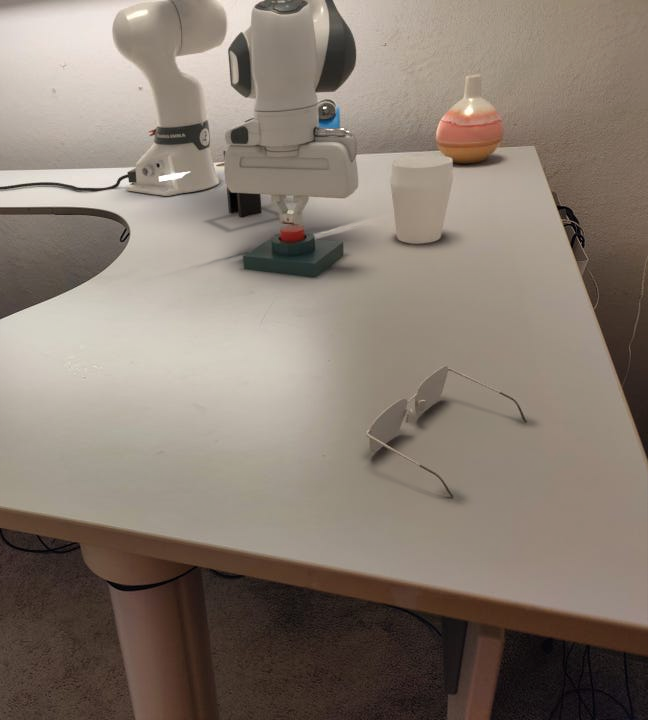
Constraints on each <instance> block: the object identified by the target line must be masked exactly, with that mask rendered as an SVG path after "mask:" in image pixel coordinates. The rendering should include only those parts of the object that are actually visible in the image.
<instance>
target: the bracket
mask: <svg viewBox="0 0 648 720" xmlns="http://www.w3.org/2000/svg"><path fill="white" fill-rule="evenodd" d="M225 152H226V150H223V159H224V158H225ZM226 198H227V207H228V213H229V214H236V213H238V218H241V219H242V218H246V217H250V216H255V215H259V214H262V199H261V194H252V193H233V192H231V191H230V190H229V189H228V187H227V186H226Z"/></svg>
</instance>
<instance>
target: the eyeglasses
mask: <svg viewBox="0 0 648 720" xmlns="http://www.w3.org/2000/svg"><path fill="white" fill-rule="evenodd" d="M448 372H452V373H454V374H456V375H459V376H461V377H462V378H465V379H467V380H470V381H472V382H474V383H477V384H479V385H481V386H483V387H484V388H487V389H489V390H492V391H494V392H496V393H498V394H500V395H502V396H503V397H506V398H508V399H510V400H511V401H512V402H514V404H515V405H516V406H517V409H518V411H519V413H520V415H521V418H522V420H523V421H522V422H523V423H528V421H527V419H526V417H525V415H524V412H523V410H522V408H521V406H520V404H519V403H518V402H517V400H516V399H514V398H513V397H512V396H510V395H508V394H505V393H504V392H502V391H499V390H497V389H494V387H493V388H492V387H491V386H489V385H487V384H485V383H483V382H481V381H479V380H477V379H474V378H472V377H470V376H468V375H466V374H464V373H462V372H459V371H458V370H455V369H453V368H451V367H448V366H447V365H444V366H441V367H440V368H438V369H436V370H435V371H433V372H432V373H431V374H430V375H428V376H427V377H426V378H424V380H423V381H422V382H421V383H420V384H419V386H418V388H417V389H416V392H415V394H414V395H413V396H411V397H410V398H409V399H406V398H404V397H403V398H400V399H398V400H396V401H394V402H393V403H392V404H391V405H389V406H388V407H387V408H385V409H384V410H383V411H382V412H381V413H380V414H379V415H378V416H377V417H376V418H375V419H374V421H373V422H372V423H371V425H370V428H369V429H368V430H367V431H366V432H365V436H366V438H368V439H369V448H370V452H372V453H375V452H377V451H379V450H380V449H382V448H383V447H384V448H386V449H388V450H389V451H391V452H393V453H395V454H397V455H399V456H401V457H402V458H404V459H406V460H408V461H409V462H411V463H413V464H415V465H417V466H418V467H420V468H421V469H423V470H425V471H426V472H429V473H431V474H433V475H434V476H436V478H438V480H440V482H441V483H442V485H443V486H444V489H446V491H447V493H448V494H449V496H450V497H451V498H454V495H453V493H452V492H451V490H450V489H449V487H448V485H447V484H446V482H445V481H444V480H443V478H442V477H441V476H440V475H439V474H438V473H436V472H434V471H433V470H432V469H430V468H428V467H426V466H424V465H422V464H420V463H418V462H416V461H415V460H413V459H411V458H409V457H408V456H406V455H404V454H403V453H401V452H400V451H398V450H396V449H395V448H393V447H391V446H389V445H388V443H389V442H390V441H391V440H392V439H393V438H394V437H395V436H396V435H397V434H398V432H399V430H400V429H401V426H402V424H403V421H404V418H405V417H406V419H405V423H409V422H410V420H411V418H412V414H413V409H412V408H409V409H407V407H408V404H409V402H411V401H412V400H413V399H414V409H415V414H416V415H417V416H420V415H422V414H423V413H425V412H426V411H428V410H429V409H430V408H431V407H432V406H433V405H434V404H436V402H438V401H439V399H440V397H441V396H442V394H443V390H444V387H445V384H446V381H447V377H448Z"/></svg>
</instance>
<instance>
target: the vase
mask: <svg viewBox="0 0 648 720" xmlns="http://www.w3.org/2000/svg"><path fill="white" fill-rule="evenodd" d="M464 81H465V83H464V91H463V97H462V98H461V99H460V100H458V101H457V102H456V103H455V104H453V105H452V106H451V107H450V108H449V109H448V110H447V111H446V112H445V113H444V114H443V116H442V117H441V119H440V121H439V122H438V124H437V129H436V134H435V142H436V146H437V148H438V150H439V151H440V153H441V154H442V156H447V157H450V158H452V159H453V163H454V164H463V165H465V164H466V165H467V164H476V163H481V162H483V161H485V160H486V159H487V158H488V157H489V156H491V155H492V154H493V153H494V152H495V151H496V150H497V149H498V148H499V147H500V145H501V144H502V141H503V138H504V133H505V124H504V120H503V116H502V115H501V113H500V112H499V110H498V109H497V108H496V107H495V106H494V105H493V104H492V103H491V102H489V101H488V100H486V99H485V98H484V97H482V96H481V94H482V93H481V91H482V74H468V75H466V76H465V80H464Z"/></svg>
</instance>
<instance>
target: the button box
mask: <svg viewBox="0 0 648 720" xmlns="http://www.w3.org/2000/svg"><path fill="white" fill-rule="evenodd" d="M304 234H305V239H304V240H301V241H297V242H283V241H281V236H280V232H279V233H276V234H274V235H273V236H271V237H270V238H269V239H267V240H266V241H264V242H263V243H261V244H259V245H258V246H255V248H253V249H251V250H250V251H248V252H246V253H244V254H243V255H242V260H243V270H248V271H257V272H263V273H264V272H267V273H273V274H282V275H290V276H291V275H292V276H299V277H307V278H316V277H318V276H319V275H320V274H322V273H323V272H324V271H326V270H327V269H328V268H329V267H331V266H332V265H333V264H335V263H336V262H337V261H338V260H340V259H341V258H343V256H344V241H337V240H324V239H316V237H315V234H314V233H312V232H309V231H305V230H304Z"/></svg>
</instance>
